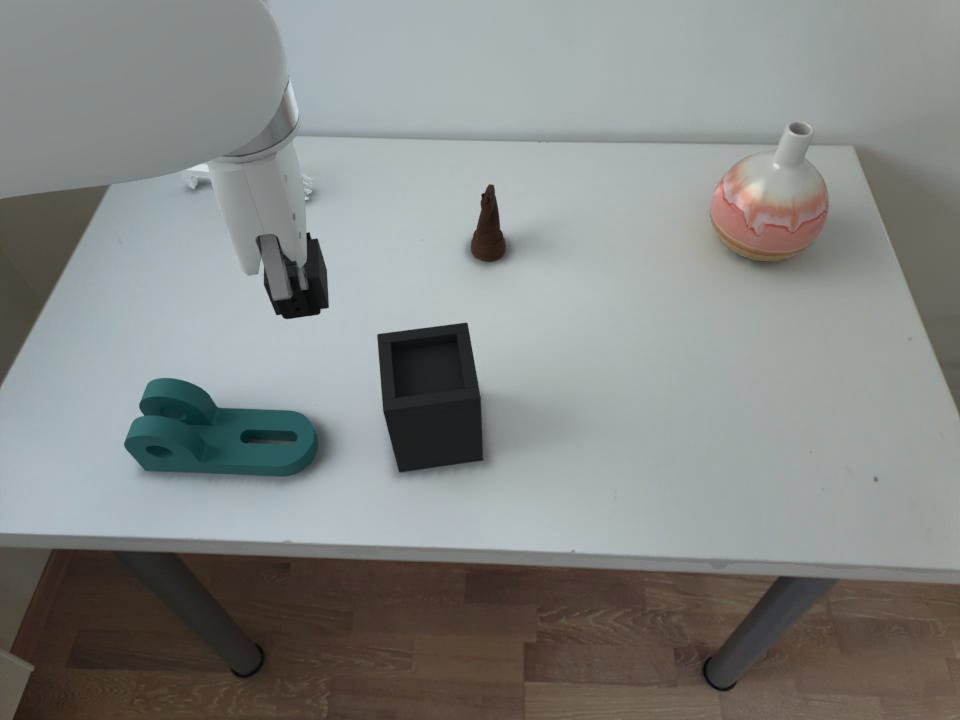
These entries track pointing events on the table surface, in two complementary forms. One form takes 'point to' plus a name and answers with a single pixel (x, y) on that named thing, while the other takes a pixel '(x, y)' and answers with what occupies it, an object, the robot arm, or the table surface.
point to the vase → (772, 200)
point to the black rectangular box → (431, 396)
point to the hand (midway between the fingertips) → (301, 289)
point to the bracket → (215, 434)
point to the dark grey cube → (308, 275)
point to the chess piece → (488, 230)
